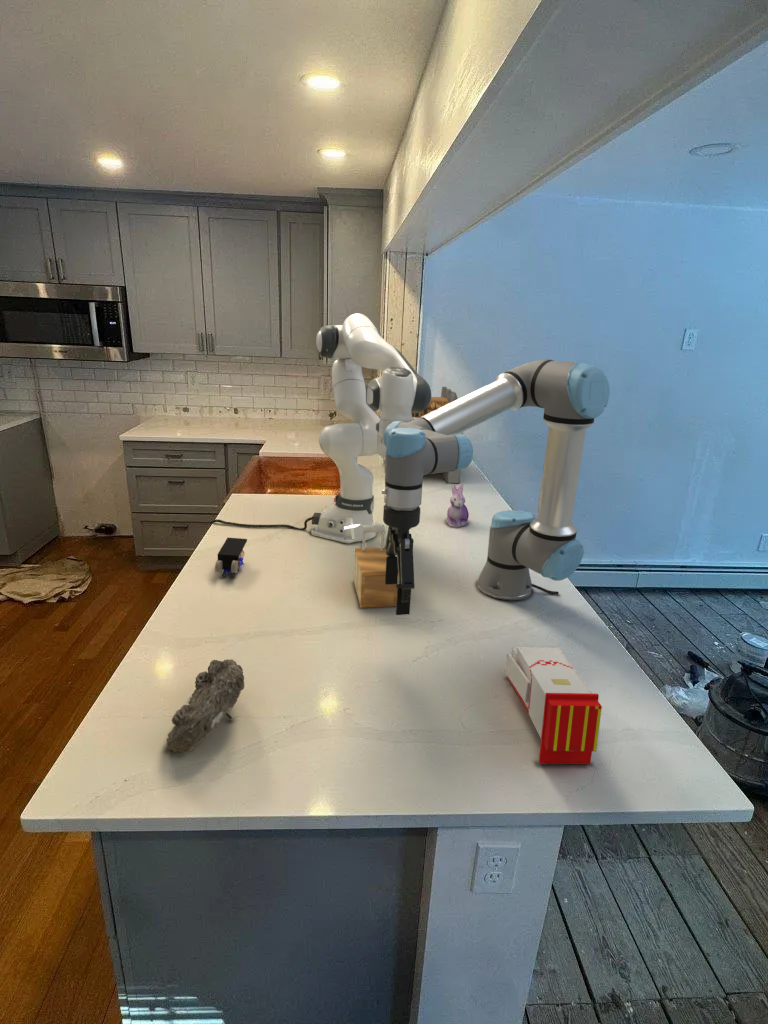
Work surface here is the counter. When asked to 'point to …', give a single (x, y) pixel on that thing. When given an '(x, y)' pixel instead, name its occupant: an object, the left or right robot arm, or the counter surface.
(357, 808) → the counter surface
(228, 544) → the figurine character
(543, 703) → the toy
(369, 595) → the chest
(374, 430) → the left robot arm
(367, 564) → the lid
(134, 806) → the counter surface
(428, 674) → the counter surface
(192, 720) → the grey brown lumpy piece
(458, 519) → the figurine
